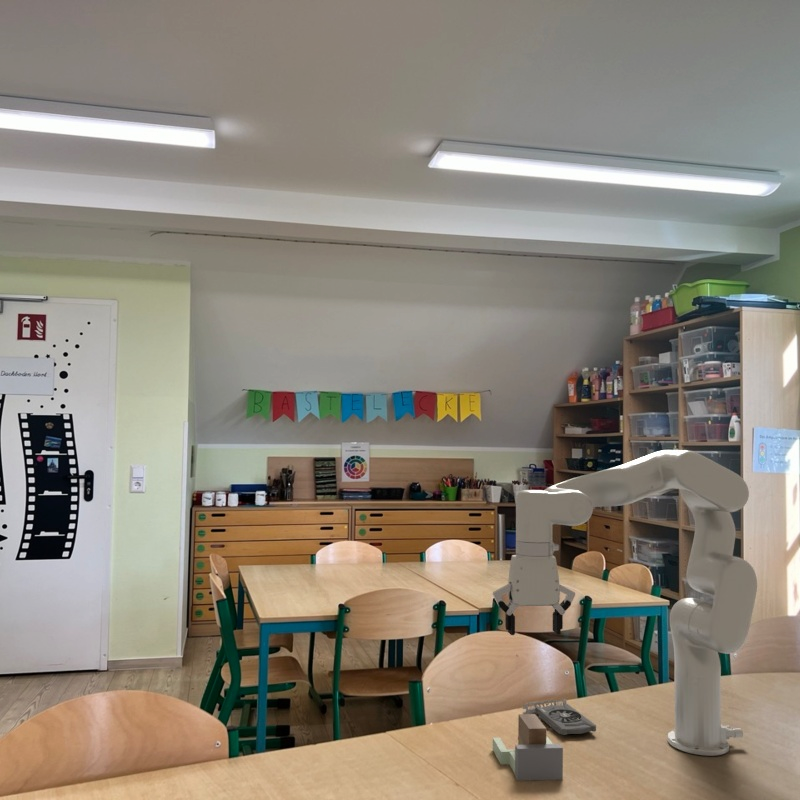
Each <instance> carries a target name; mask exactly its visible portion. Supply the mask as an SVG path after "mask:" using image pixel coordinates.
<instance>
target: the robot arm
mask: <svg viewBox="0 0 800 800" xmlns="http://www.w3.org/2000/svg"><path fill="white" fill-rule="evenodd" d="M671 489H675V490H676V489H677V490H679V494H680V496H681V498H682V500H683V502H684V503H685V504H686V506H687V507H688V509H689V511H690V513H691V514H692V517H693V520H694V536H693V540H692V545H691V550H690V554H689V559H688V561H687V562H688V563H687V567H686V576H685V577H686V582H687V584H688V585H689V587H690V588H692V589H693V590H694V591H696V592H698V593H701V594H704V595H708V596H709V597H710V596H711V597H713V602H712V601H708V600H705V599H701V598H696V597H684V598H681V599H679V600H678V601H677V602H675V603H674V604H673V606H672V607H671V610H670V612H669V628H670V633H671V637H672V638H671V639H672V643H673V653H674V654H673V656H674V658H673V659H674V671H673V674H674V679H673V680H674V681H673V682H674V729H673V730H671V731H669V732H668V733H667V743H668V744H669V745H670V746H672V747H673V748H675V749H678V750H679V751H681V752H685V753H688V754H693V755H698V756H708V757H709V756H710V757H711V756H712V757H715V756H721V755H724V754H727V753H728V752H729V751H730V744H729V742H728V741H727V740H730V738H733V739H735V738H736V739H740V738H741V739H742V738H743V736H744V733H743V730H742V728H739V727H737V728H732V727H731V726H730V725H723V724H722V696H721V695H722V691H721V688H722V686H721V684H722V677H721V675H722V674H721V673H722V671H721V670H722V669H721V668H722V667H721V659H720V656H719V653H721V654H728V655H729V654H730V655H731V654H734V653H736V652H738V651H739V650H740V649H741V648H742V647H743V645H744V644H745V643H746V640H747V637H748V634H749V631H750V630H749V629H750V626H751V621H752V617H753V611H754V607H755V603H756V602H755V601H756V598H757V591H758V579H757V574H756V571H755V569H754V567H753V566H752V565H751V564H750V563H749V562H748V561H747V560H745V559H744V558H742V557H738V556H734V549H735V541H736V534H737V532H736V525H735V523H734V522H735V521H734V519H733V516H732V514H731V513H734V512H737V511H739V510H742V509H743V508H744V507H745V506H746V505H747V504H748V503H747V502H748V501H749V497H750V495H749V494H750V490H749V487H748V485H747V482H746V481H745V480H744V478H743V477H741V476H740V475H739V474H738V473H736V472H735V471H733V470H731V469H729V468H727V467H725V466H723V465H721V464H720V463H717V462H715V461H714V460H712V459H710V458H708V457H706V456H704V455H702V454H701V453H699V452H696V451H693V450H687V449H684V450H683V449H663V450H658V451H654V452H652V453H649V454H646V455H645V456H641V457H639V458H637V459H634V460H631V461H628V462H625V463H623V464H620V465H617V466H613V467H610V468H607V469H603V470H599V471H596V472H592V473H588V474H584V475H580V476H577V477H573V478H570V479H567V480H565V481H562V482H559V483H556V484H554V485H551V486H549V487H546V488H545V489H544V490H543V489H523V490H520V491H518V492H517V494H516V497H515V554H512V555H511V558H510V564H509V571H508V580H507V584H506V585H504V586H501V587H500V588H498V589H496V590H494V591H493V592H492V596H493V598H494V600H495V601H496V604H497V606H498V607H500V609H501V610H502V611H503V612H504V614H505V616H504V617H505V620H504V621H505V622H504V623H505V630H506V631H507V633H509V635H510V636H515V634H516V616H515V615H514V613H515V611H516V610H517V608H518V607H544V606H545V607H550V606H551V607H552V608H553V609H554V611H553V612H552V632H554V633H555V634H556V635H561V634H562V633H561V632H562V631H561V630H563V626H564V625H563V624H564V621H563V617H564V616H563V615H565V613H566V611H567V610H568V609H569V608H570V607H571V606H572V602H573V600H574V598H575V597H576V593H575V592H574V591H573V590H571V589H569V588H568V587H566V586H564V585H562V584H560V579H559V578H560V576H559V569H558V564H557V558H556V556H555V555H554V552H556V551H559V550H560V545H559V544H558V543H554V541H553V525H562V526H569V527H576V526H577V527H578V526H580V525H583V524H585V523H587V522H588V521H589V520H590V519H591V517H592V514H593V511H594V509H593V508H599V507H618V506H625V505H632V504H633V503H635V502H638V501H642V500H644V499H647V498H649V497H651V496H654V495H656V494H659V493H661V492H664V491H666V490H671ZM561 593H563V594H565V597H564V599H563V600H562V602H560V599H561ZM506 594H507V599H508V602H507V604H506V603H505V601H504V600H503V596H504V595H506Z"/></svg>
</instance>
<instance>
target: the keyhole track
mask: <svg viewBox="0 0 800 800" xmlns="http://www.w3.org/2000/svg"><path fill="white" fill-rule="evenodd" d="M514 747H515V748H514V749H507V747H506V746H505V743H504V742H503V741H502V739H501V737H499V736H498V737H492V751H493V753H494V754H495V757H496V759H497V760H498V762H499V763H500V765H509V766H510V768H511V771H513V773H514V777H515V779H516V781H520V782H521V781H551V780H552V781H553V780H555V781H557V780H560V781H561V780H564V776H563V775H564V773H563V772H564V766H563V765H564V751H563V750H564V748H563V746H562V745H561V743H553V742H552V740H551V739H550V738H549V737H548V736H546V744H528V745H518V744H515V746H514Z"/></svg>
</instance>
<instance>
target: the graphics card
mask: <svg viewBox="0 0 800 800" xmlns="http://www.w3.org/2000/svg"><path fill="white" fill-rule="evenodd" d="M541 705H542V706H541ZM522 709H523V710H525V711H523V712H522V714H535V715H536V716H537V717H538V719H539V720H540V721H541V722H544V723H546V724H547V725H548V726H549V727H551V729H552V730H554V731H555V732H556V733H558V734H559V735H565V736H567V735H569V734H571V735H572V734H573V735H574V734H575V735H576V734H577V735H579V734H585V733H589V732H594V733H595V732H596V731H597V725H596V724H595V723H594V722H592V721H591V720H590V719H589V718H587V717H586V716H584V715H583V714H582V713H580V712H579V711H577V710H576V709H575V708H573V707H572V706H571V705H570V704H568V702H567V699H565V698H563V699H562V698H561V699H553V700H542V701H531V702H526V703H525V704H522Z"/></svg>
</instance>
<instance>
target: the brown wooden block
mask: <svg viewBox="0 0 800 800" xmlns="http://www.w3.org/2000/svg"><path fill="white" fill-rule="evenodd" d="M538 717H539V716H538ZM538 717H537V716H536V715H535V714H523V713H521V714H518V724H517V725H518V727H517V728H518V729H517V730H518V732H517V733H518V734H517V736H518V739H517V740H518V741H517V745H528V744H546V737H547V727H546V726H545V725H544V723H543V721H540V720H539V719H538Z"/></svg>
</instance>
